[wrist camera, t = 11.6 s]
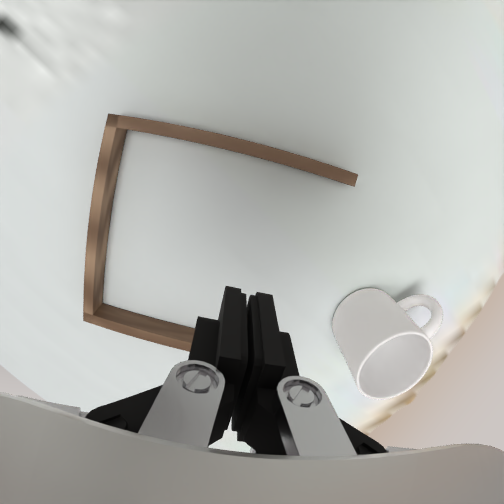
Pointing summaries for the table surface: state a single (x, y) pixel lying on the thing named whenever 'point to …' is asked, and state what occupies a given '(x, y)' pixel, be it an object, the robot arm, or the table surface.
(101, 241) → the open wooden rail frame
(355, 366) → the mug
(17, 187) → the table surface
